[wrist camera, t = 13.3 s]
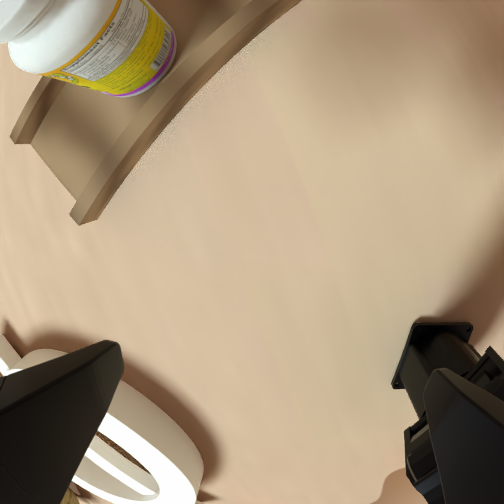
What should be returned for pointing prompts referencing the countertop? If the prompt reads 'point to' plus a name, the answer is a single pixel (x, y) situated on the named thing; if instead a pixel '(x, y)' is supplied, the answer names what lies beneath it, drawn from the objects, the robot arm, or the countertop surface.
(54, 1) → the supplement bottle
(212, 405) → the countertop surface
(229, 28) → the oak track
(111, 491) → the ring with crossbar
